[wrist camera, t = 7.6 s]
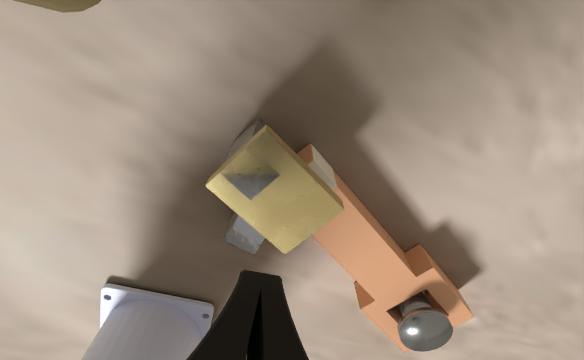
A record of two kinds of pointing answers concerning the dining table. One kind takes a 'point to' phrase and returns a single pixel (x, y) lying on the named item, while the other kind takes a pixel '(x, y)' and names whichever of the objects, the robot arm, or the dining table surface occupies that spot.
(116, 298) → the robot arm
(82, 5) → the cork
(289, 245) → the stand
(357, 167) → the dining table surface
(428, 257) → the link
